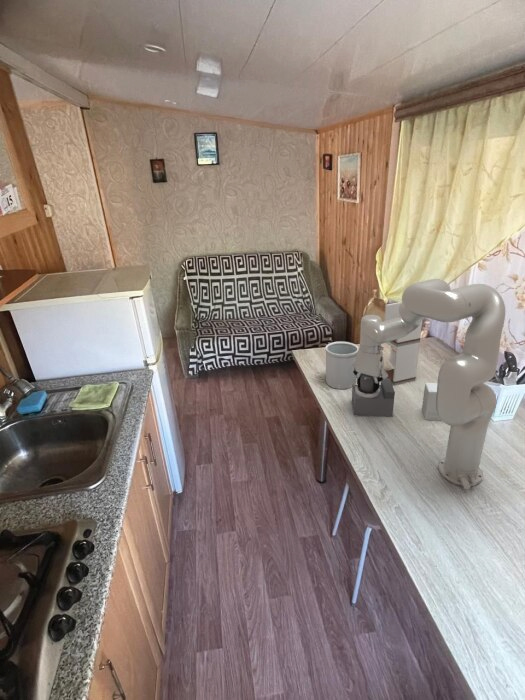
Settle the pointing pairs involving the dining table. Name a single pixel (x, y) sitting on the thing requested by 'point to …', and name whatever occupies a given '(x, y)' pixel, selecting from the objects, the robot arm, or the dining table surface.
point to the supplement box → (430, 402)
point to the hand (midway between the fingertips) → (367, 387)
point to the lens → (366, 384)
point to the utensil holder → (340, 364)
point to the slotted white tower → (402, 351)
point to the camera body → (374, 400)
